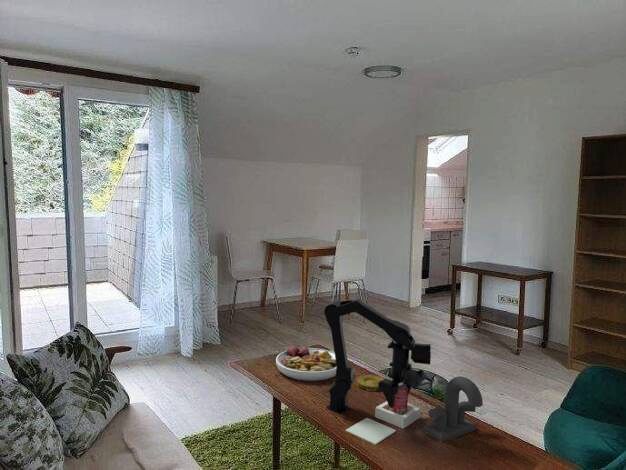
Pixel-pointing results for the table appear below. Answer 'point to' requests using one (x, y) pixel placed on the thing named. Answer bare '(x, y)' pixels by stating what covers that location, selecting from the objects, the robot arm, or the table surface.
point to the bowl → (307, 363)
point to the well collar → (396, 419)
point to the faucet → (455, 410)
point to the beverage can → (400, 400)
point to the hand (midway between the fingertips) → (398, 403)
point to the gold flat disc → (369, 382)
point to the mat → (370, 431)
